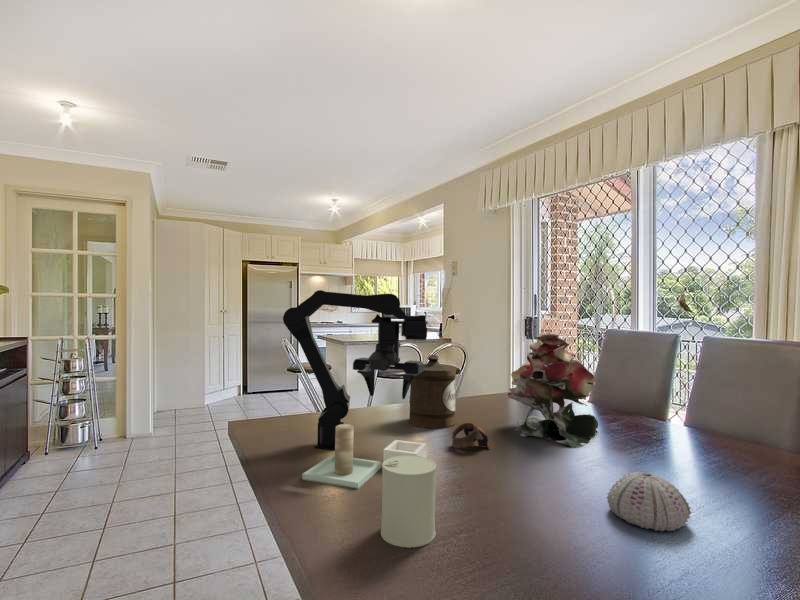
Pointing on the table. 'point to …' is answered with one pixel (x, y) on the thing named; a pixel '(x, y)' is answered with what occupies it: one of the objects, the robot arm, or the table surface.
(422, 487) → the can
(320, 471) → the tray
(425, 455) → the white square tube
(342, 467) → the dowel
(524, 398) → the rose bouquet
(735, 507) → the table surface
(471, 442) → the brown rounded hollow piece
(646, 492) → the sea urchin shell
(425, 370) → the wooden container
